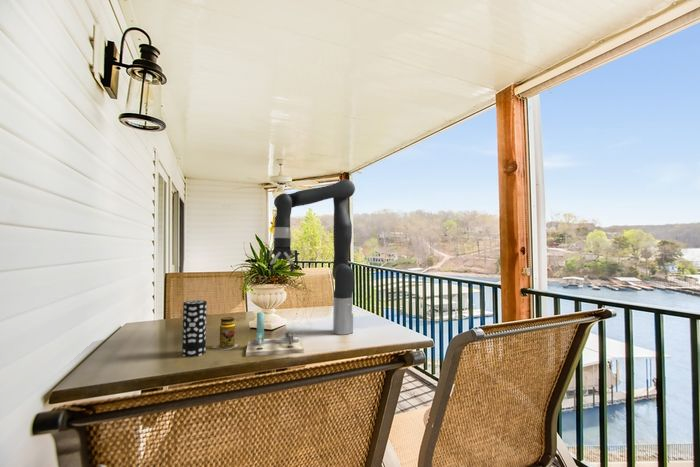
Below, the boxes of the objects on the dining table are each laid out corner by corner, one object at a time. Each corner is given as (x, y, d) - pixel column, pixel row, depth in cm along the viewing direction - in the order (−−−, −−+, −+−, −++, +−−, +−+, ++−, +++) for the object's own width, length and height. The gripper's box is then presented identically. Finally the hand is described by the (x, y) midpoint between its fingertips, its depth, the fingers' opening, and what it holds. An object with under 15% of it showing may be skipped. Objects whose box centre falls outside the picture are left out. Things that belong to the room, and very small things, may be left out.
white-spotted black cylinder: (190, 358, 127) (191, 304, 127) (177, 354, 131) (178, 302, 132) (209, 352, 134) (211, 301, 134) (197, 349, 138) (198, 299, 139)
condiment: (228, 350, 137) (229, 320, 137) (211, 348, 140) (211, 318, 140) (239, 345, 144) (240, 316, 144) (222, 343, 146) (223, 315, 147)
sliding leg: (263, 339, 143) (264, 311, 144) (263, 346, 134) (264, 316, 134) (256, 340, 142) (257, 312, 143) (256, 346, 133) (256, 316, 134)
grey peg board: (300, 342, 148) (300, 328, 148) (303, 352, 135) (303, 337, 135) (247, 345, 143) (248, 331, 143) (245, 356, 129) (246, 340, 130)
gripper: (297, 237, 161) (296, 271, 160) (266, 237, 158) (265, 272, 157) (298, 237, 154) (298, 273, 153) (266, 237, 150) (265, 273, 150)
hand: (281, 272), depth 155 cm, fingers open, 8 cm apart
